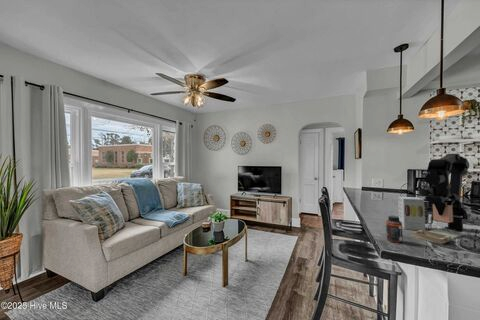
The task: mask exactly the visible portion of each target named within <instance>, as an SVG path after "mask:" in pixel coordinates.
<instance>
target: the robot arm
mask: <svg viewBox="0 0 480 320" xmlns="http://www.w3.org/2000/svg"><path fill="white" fill-rule="evenodd" d="M469 169H470V162H469V160H468V158H465V157H464V156H462V155H460V153H447V154H445V155H444V156H442V157H440V158H433V159H431V160H430V161H429V162H428V166H427V170H426V173H427V174H426V175H425V177H424V180H425V182H426V184H428V185H430V188H428V189H426V188H424V187H421V188H419V190H418V195H420V196H421V197H424V202H429V203H431V204H432V205H433V204H434V205H435V207H436V209H437V211H438V213H439V215H443V213H444V210H445V208H446V205H452V210H453V222H450V223H448V222H447V226H445V227H444V229H447V230H453V231H456V232H457V231H458V232H464V231H467V228H464V220H465V221H466V220H469V215H468V213H467V210H466V208H465V206H464V204H463V202H462V201H461V199H462V198H461V197H462V196H461V195H462V188H463V187H462V185H463V177H464V176H465V175H466V174H467V173H468V171H469ZM449 173H450V179H449Z"/></svg>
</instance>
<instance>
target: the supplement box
mask: <svg viewBox="0 0 480 320" xmlns="http://www.w3.org/2000/svg"><path fill="white" fill-rule="evenodd" d="M397 209H398V214H397V215H398V217H399V221H400V222H401V223H402V229H404V230H410V231H411V230H412V231H419V230H424V231H426V221H425V220H426V216H425V198H419V197H417V196H416V197H415V196H397Z"/></svg>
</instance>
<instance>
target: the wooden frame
mask: <svg viewBox="0 0 480 320" xmlns="http://www.w3.org/2000/svg"><path fill="white" fill-rule="evenodd" d="M429 231H430V230H425V231H424V230H414V231H412V232H411V237H412V238H417V239H418V240H419V239H420V240H423V241H428V242H432V243H436V244H440V245H443V244H446V243H448V242H451V241H452V239H451V236H447V235H443V234H438V233H433V232H429Z"/></svg>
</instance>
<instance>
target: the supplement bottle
mask: <svg viewBox="0 0 480 320" xmlns="http://www.w3.org/2000/svg"><path fill="white" fill-rule="evenodd" d="M385 222H386V223H385V225H386V226H385V230H386V239H387V240H388V241H389V242H391V243H396V244H397V243H398V244H400V243H403V242H404V236H403V228H402V223H401V222H400V221H399V215H398V216H397V215H388V216H387V220H386V221H385Z"/></svg>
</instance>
